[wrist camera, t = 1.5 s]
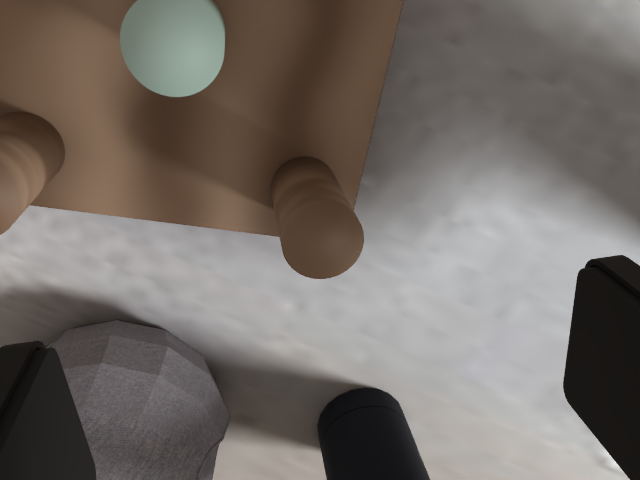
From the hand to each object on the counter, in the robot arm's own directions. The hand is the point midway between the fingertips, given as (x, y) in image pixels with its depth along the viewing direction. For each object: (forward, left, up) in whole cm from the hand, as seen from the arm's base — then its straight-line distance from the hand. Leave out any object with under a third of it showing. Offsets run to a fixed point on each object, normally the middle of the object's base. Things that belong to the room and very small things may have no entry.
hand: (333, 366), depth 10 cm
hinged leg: (+4, -7, -20) cm, 22 cm away
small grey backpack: (+7, +23, -24) cm, 34 cm away
